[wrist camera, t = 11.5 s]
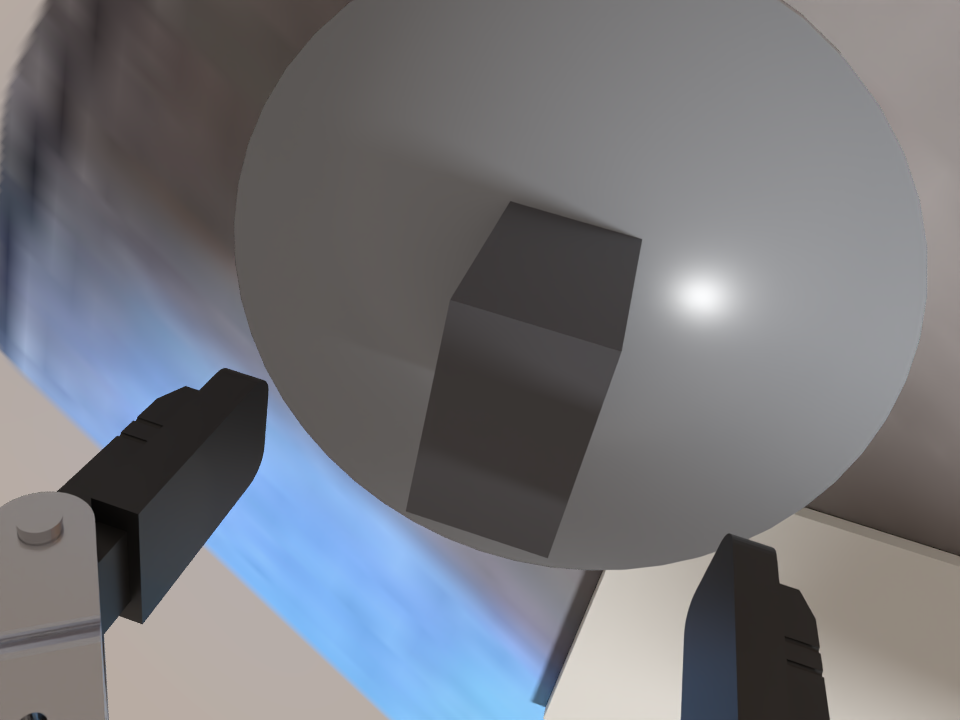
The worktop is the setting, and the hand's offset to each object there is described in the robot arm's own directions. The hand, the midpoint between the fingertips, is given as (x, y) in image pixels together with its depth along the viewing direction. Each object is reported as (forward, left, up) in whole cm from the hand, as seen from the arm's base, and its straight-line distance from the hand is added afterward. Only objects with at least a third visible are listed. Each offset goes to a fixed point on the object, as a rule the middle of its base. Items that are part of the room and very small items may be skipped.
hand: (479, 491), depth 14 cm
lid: (0, 0, -8) cm, 8 cm away
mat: (-13, +17, -15) cm, 26 cm away
